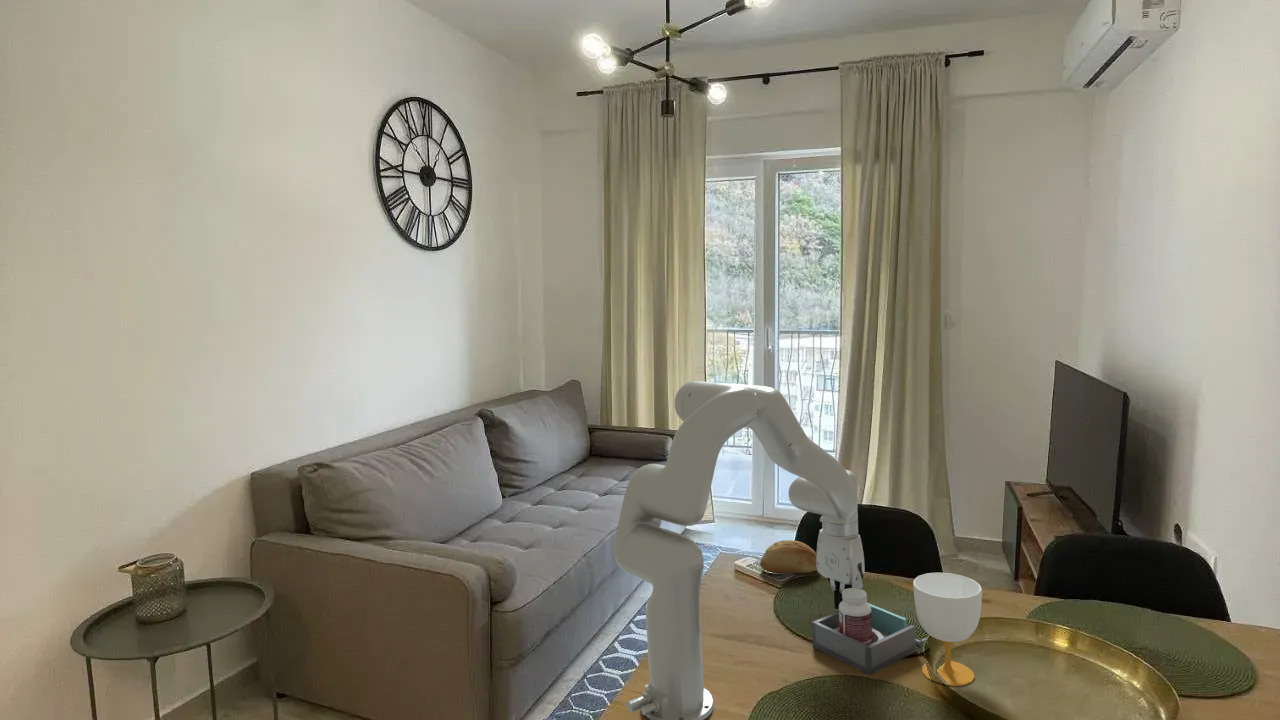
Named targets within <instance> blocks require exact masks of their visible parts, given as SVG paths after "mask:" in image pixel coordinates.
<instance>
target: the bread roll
mask: <svg viewBox="0 0 1280 720" xmlns="http://www.w3.org/2000/svg"><path fill="white" fill-rule="evenodd" d="M764 551H765V552H764V553H763V554H762V556H761V559H760V562H759V567H760V566H761V567H762V568H763V569H764V570H767V571H769V572H773V573H784V574H799V573H800V574H803V573H805V574H806V573H813V572H815V571H817V565H816V558H817V552H816V551H815V550H814V549H813V548H811V547H810V546H809V545H808V544H806V543H805V542H802V541H798V540H793V539H792V540H791V539H786V540H778V541H776V542H774V543H772V544H771V545H769V546H767V548H766V549H765V550H764ZM761 567H760V568H761Z"/></svg>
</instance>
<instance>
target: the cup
mask: <svg viewBox="0 0 1280 720" xmlns="http://www.w3.org/2000/svg"><path fill="white" fill-rule="evenodd" d="M912 584H913V595H914V597H913V598H914V605H915V612H916V616H917V619H918V623H919V624H920V625H921V627H922V628H923V630H924V631H925V632H926V633H927V634H928V635H929V636H930V637H932V638H934V639H936V640H938V641H941V642H943V643H944V646H943V647H944V660H945V663H944V664H943V665H942V666H940V667H939V669H937V672H938V673H939V675H940V676H941V677H942V678H943V679H944V680H945V681H946V682H947V683H948V684H949V685H951V686H950V687H962V686H963V687H964V686H967V685H969V684H972V683H973V682H974V680H975V678H976V677H975V672H974V671H973V670H972V669H970V667H968V666H966V665H965V664H962V663H960V662H958V661H955V660H954V661H953V660H952V658H951V654H952V653H951V651H952V643H958V642H963V641H965V640H967V639H969V638H970V637H971V636H972V634H973V633H974V632H975V631H976V629H977V628H978V625H979V622H980V618H981V612H982V604H983V603H982V602H983V590H982V586H981V585H980V583H978V582H977V581H976V580H975V579H972V578H969V577H967V576H964V575H961V574H956V573H950V572H949V573H948V572H929V573H928V572H927V573H924V574H921V575H917V577H915V578H914V580H913V583H912ZM926 663H927V662H925V663H924V664H923V665H922V667H921V670H922V674H923V675H924V676H925V678H927V679H928V680H930V681H932V680H931V678H930V676H929V674H928V671H927V667H926Z"/></svg>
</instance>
